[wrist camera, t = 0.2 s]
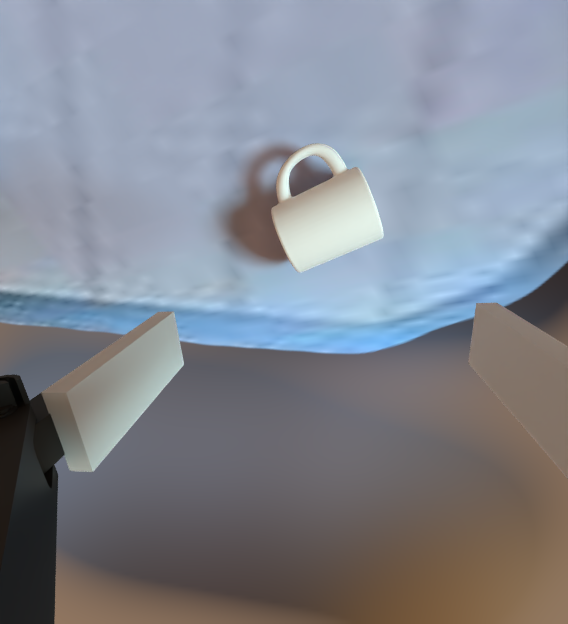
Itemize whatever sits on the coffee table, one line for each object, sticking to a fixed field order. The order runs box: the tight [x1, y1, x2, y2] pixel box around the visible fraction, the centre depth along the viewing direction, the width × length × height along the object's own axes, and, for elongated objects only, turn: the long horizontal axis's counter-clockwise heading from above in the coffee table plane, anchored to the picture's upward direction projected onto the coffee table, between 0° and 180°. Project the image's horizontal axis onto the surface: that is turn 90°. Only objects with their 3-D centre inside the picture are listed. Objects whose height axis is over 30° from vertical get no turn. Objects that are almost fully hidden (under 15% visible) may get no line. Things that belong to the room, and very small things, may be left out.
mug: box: [271, 143, 383, 273], centre depth 35 cm, size 12×10×8 cm
